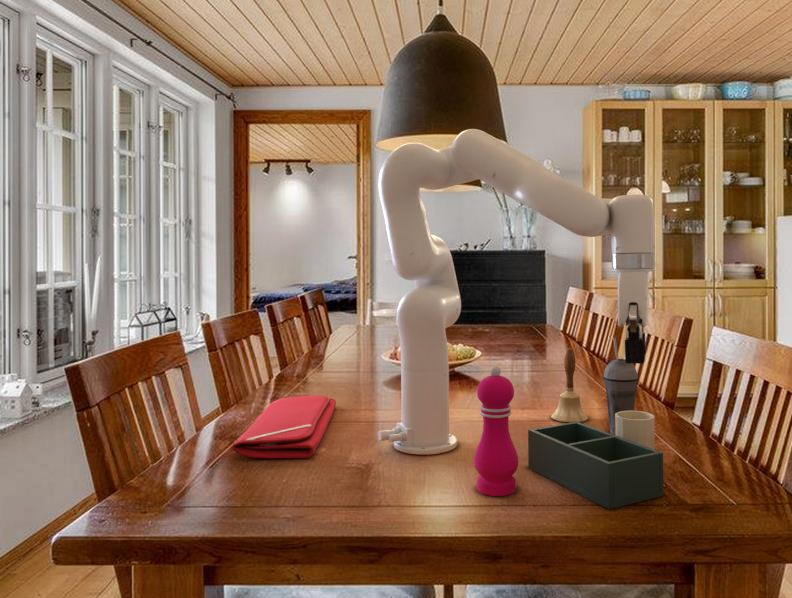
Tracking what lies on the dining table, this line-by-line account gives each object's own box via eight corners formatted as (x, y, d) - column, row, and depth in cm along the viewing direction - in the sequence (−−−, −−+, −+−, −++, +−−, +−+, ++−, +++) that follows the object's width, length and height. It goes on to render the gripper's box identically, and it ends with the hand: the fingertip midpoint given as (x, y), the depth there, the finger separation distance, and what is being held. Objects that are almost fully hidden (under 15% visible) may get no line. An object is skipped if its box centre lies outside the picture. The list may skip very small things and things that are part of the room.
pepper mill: (505, 501, 102) (504, 371, 102) (465, 492, 106) (464, 367, 106) (526, 486, 108) (525, 364, 108) (487, 478, 112) (486, 360, 112)
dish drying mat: (337, 406, 164) (337, 391, 164) (315, 458, 123) (315, 438, 123) (273, 408, 163) (273, 393, 163) (229, 461, 122) (229, 441, 122)
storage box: (609, 509, 99) (608, 463, 99) (528, 467, 117) (528, 429, 118) (663, 496, 104) (663, 452, 104) (577, 458, 123) (577, 421, 123)
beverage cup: (640, 438, 135) (639, 340, 135) (603, 436, 136) (602, 340, 136) (637, 429, 142) (636, 336, 142) (603, 427, 143) (602, 335, 144)
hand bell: (593, 416, 153) (592, 347, 153) (579, 424, 146) (579, 352, 146) (560, 412, 157) (559, 344, 157) (545, 419, 150) (544, 349, 150)
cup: (634, 474, 114) (633, 421, 114) (607, 462, 120) (607, 413, 120) (663, 467, 117) (662, 416, 117) (636, 457, 123) (635, 408, 123)
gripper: (614, 262, 128) (617, 350, 128) (608, 265, 112) (611, 366, 111) (655, 262, 126) (657, 351, 126) (654, 264, 110) (657, 367, 109)
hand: (635, 358), depth 119 cm, fingers open, 9 cm apart
